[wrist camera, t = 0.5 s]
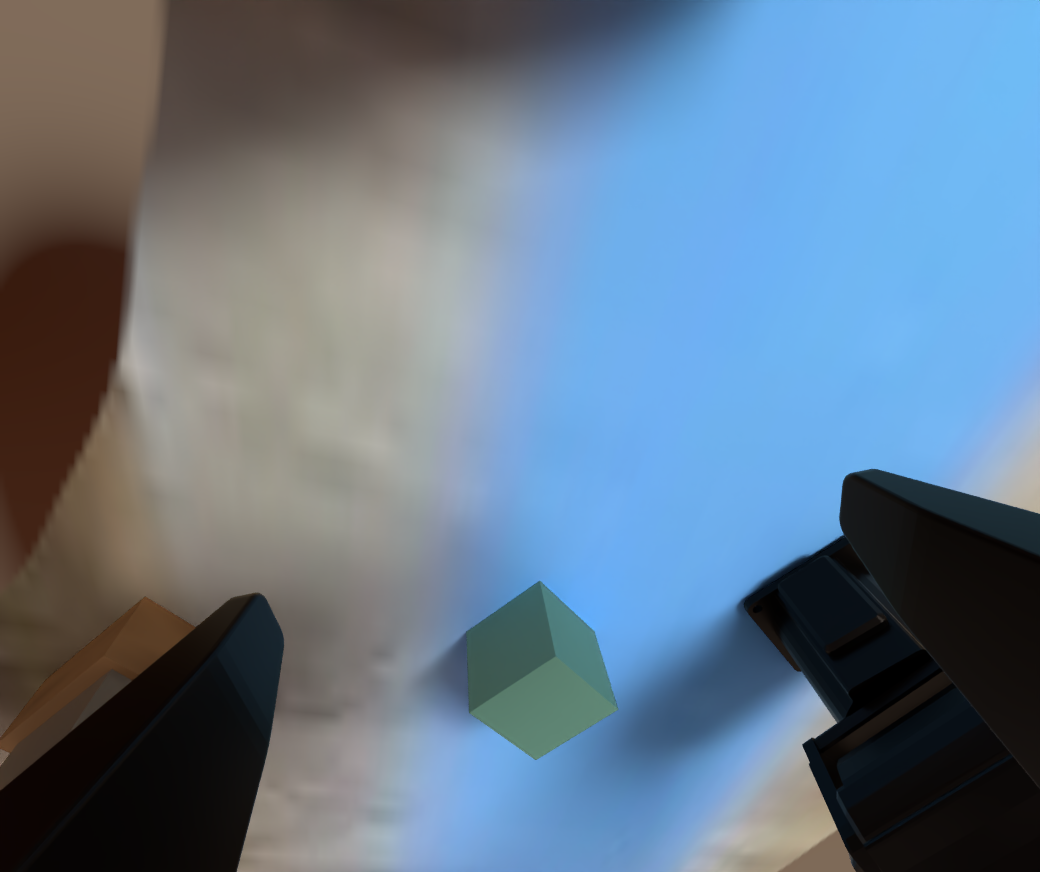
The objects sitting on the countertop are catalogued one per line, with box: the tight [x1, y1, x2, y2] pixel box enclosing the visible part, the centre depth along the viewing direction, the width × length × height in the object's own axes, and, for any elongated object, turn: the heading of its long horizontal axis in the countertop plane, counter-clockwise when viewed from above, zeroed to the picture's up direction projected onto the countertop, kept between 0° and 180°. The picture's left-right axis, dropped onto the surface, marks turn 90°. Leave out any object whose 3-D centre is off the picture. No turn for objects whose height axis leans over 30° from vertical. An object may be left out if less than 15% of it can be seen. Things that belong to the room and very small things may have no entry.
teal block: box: [466, 581, 618, 760], centre depth 26 cm, size 4×4×4 cm
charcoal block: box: [0, 669, 132, 790], centre depth 22 cm, size 6×6×4 cm
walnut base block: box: [0, 597, 196, 753], centre depth 25 cm, size 7×7×4 cm
